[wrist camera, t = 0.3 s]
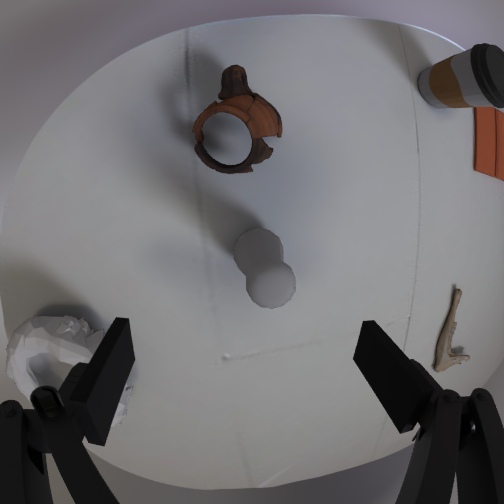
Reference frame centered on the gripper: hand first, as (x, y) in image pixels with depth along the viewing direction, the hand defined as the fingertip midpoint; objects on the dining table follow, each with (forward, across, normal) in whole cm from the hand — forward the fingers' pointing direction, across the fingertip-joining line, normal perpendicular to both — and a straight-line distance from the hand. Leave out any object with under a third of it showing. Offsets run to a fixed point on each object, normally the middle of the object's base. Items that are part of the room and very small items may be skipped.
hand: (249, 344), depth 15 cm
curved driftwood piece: (+22, +44, -15) cm, 51 cm away
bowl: (+22, -24, -19) cm, 37 cm away
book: (+22, +45, +21) cm, 54 cm away
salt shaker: (+22, +3, 0) cm, 22 cm away
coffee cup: (+22, +28, +25) cm, 44 cm away
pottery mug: (+22, 0, +14) cm, 26 cm away
